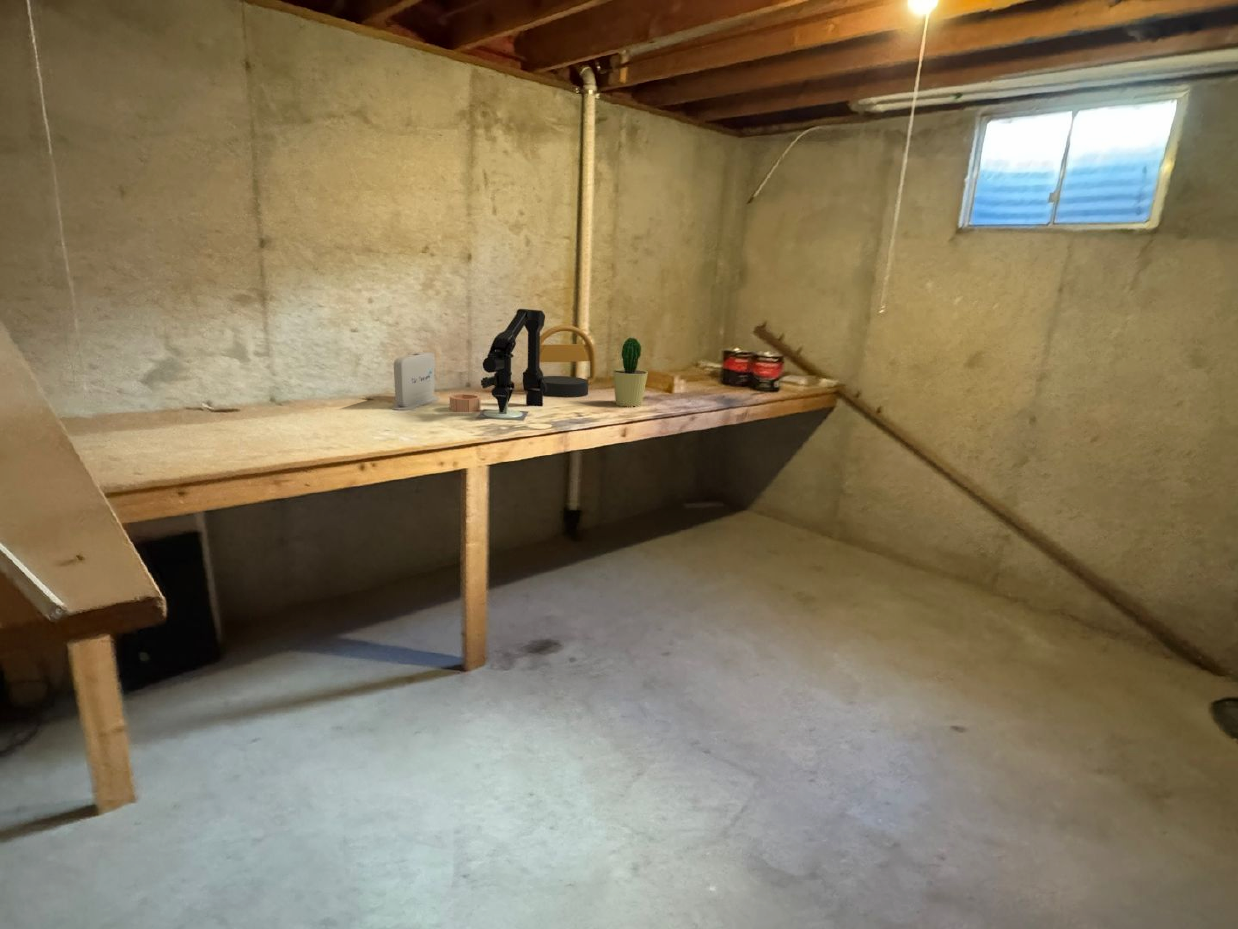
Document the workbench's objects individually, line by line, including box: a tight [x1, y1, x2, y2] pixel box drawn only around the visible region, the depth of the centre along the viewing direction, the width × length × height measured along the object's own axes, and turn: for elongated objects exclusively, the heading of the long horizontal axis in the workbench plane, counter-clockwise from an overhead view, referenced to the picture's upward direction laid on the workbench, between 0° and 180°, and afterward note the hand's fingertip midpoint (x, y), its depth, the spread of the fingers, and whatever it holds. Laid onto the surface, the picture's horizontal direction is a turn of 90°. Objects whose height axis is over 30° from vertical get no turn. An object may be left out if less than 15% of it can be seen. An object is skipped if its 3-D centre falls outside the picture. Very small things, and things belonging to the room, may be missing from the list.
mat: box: [475, 408, 530, 422], centre depth 267 cm, size 18×18×1 cm
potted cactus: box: [612, 336, 649, 407], centre depth 300 cm, size 15×15×30 cm
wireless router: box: [389, 351, 441, 411], centre depth 279 cm, size 31×10×20 cm, turn 168°
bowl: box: [449, 393, 482, 413], centre depth 273 cm, size 11×11×6 cm
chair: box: [540, 324, 597, 399], centre depth 320 cm, size 25×35×32 cm
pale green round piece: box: [484, 400, 523, 419], centre depth 266 cm, size 15×15×6 cm
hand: (503, 410), depth 266 cm, fingers open, 9 cm apart
